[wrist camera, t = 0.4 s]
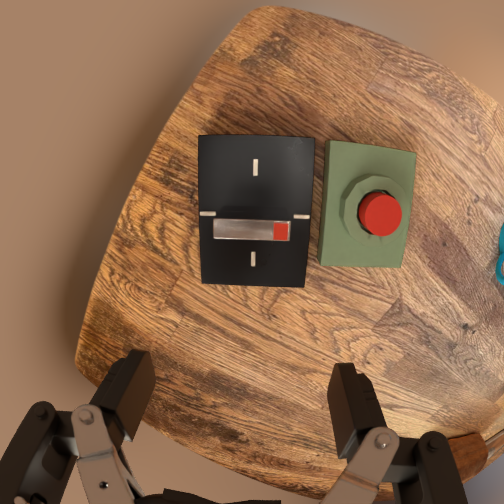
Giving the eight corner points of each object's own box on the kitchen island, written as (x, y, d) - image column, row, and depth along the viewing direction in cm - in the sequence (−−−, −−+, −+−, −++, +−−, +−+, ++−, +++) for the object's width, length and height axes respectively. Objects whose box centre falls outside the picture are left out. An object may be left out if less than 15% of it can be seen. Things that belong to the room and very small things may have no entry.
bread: (407, 443, 43) (422, 490, 30) (484, 427, 43) (500, 460, 31) (379, 468, 47) (389, 511, 34) (458, 452, 48) (471, 484, 35)
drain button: (360, 190, 23) (367, 193, 21) (396, 194, 23) (404, 197, 21) (356, 229, 24) (362, 235, 23) (391, 232, 24) (398, 237, 22)
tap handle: (223, 221, 25) (212, 239, 20) (223, 205, 25) (212, 219, 20) (285, 224, 25) (290, 242, 20) (286, 207, 24) (291, 221, 20)
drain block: (325, 140, 25) (334, 138, 21) (406, 152, 25) (425, 153, 21) (316, 257, 29) (323, 273, 25) (393, 260, 29) (408, 275, 25)
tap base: (205, 136, 25) (197, 135, 22) (309, 139, 25) (315, 137, 22) (207, 271, 30) (201, 284, 27) (301, 274, 30) (304, 288, 27)
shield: (522, 421, 41) (512, 445, 48) (518, 414, 44) (510, 439, 51) (447, 474, 48) (452, 486, 56) (445, 467, 51) (450, 480, 59)
